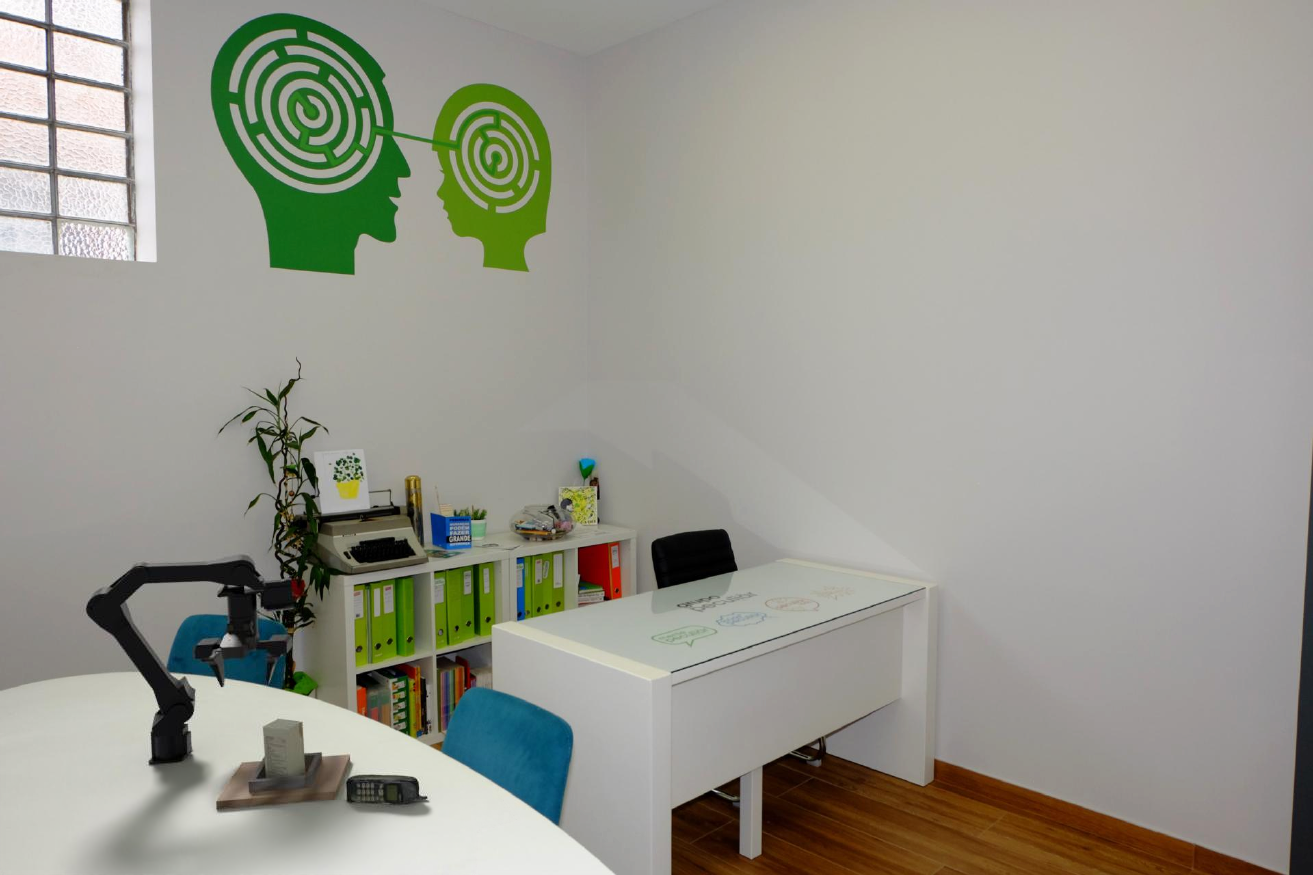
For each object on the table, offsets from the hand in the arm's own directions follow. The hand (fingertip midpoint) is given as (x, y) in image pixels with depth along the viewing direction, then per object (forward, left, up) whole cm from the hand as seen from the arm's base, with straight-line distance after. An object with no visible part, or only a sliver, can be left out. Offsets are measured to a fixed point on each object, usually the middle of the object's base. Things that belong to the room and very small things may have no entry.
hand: (245, 685), depth 186 cm
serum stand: (+13, -21, -13) cm, 28 cm away
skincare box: (+13, -21, -13) cm, 28 cm away
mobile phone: (+33, -31, -13) cm, 48 cm away
